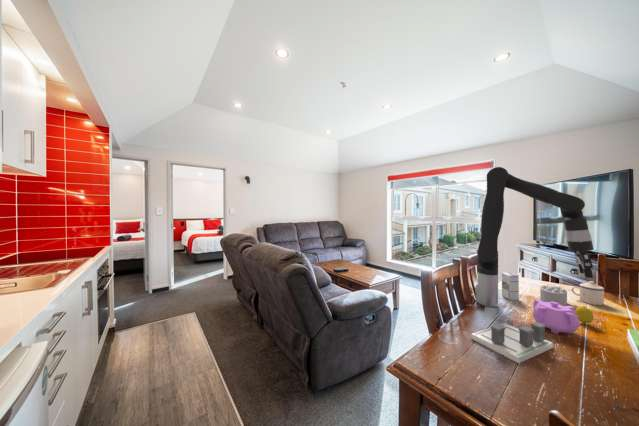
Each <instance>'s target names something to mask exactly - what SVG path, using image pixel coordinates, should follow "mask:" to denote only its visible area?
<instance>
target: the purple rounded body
mask: <svg viewBox="0 0 639 426" xmlns="http://www.w3.org/2000/svg"><path fill="white" fill-rule="evenodd" d="M532 309H533V312H532V317H533V319H534V322H539V323H541V324H544V325H546V327H545V328H547V329H549V330H550V332H551V333H553V334H555V335H559V333H566V334H572V335H573V333H575V332H576V331H577V330H578V329H579V328H581V325H580V321H579V319H578V316H577V315H575V310H576V309H575V307H574V306H571V305H567V306H562V305H559V303H557V302H542V301H540V299H534V301H533V306H532Z"/></svg>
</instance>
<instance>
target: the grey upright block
mask: <svg viewBox="0 0 639 426" xmlns="http://www.w3.org/2000/svg"><path fill="white" fill-rule="evenodd" d="M490 328H492V338H491V341H492V342H494V343H496V344H498V345H499V344H502V343H504V330H505V327H503V326H501V325H500V324H498V323H495V324H492V325H490Z"/></svg>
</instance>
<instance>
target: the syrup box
mask: <svg viewBox="0 0 639 426" xmlns="http://www.w3.org/2000/svg"><path fill="white" fill-rule="evenodd" d="M519 279H520V278H519V274H515V273H512V272H502V273H501V296H502V297H503V298H505V299H508V300H509V301H512V300H513V301H518V300H520V290H519V288H520V287H519V285H520V282H519V281H520V280H519Z"/></svg>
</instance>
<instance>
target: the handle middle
mask: <svg viewBox="0 0 639 426" xmlns="http://www.w3.org/2000/svg"><path fill="white" fill-rule="evenodd" d="M518 329H519V330H520V344H522V345H524V346H526V347H529V346H531V345H533V332H534V329H532V327H529V326H526V325H523V326H521V327H518Z"/></svg>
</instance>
